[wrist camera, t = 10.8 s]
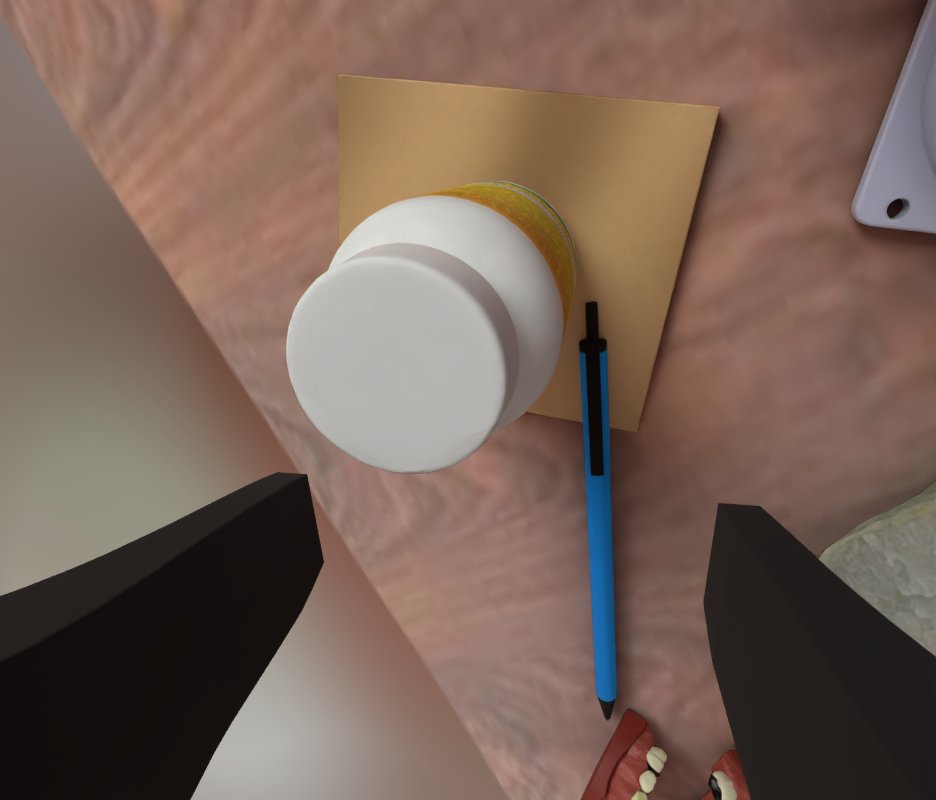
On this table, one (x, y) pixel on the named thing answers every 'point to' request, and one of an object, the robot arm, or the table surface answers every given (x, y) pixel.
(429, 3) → the table surface
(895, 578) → the stone
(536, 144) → the cork mat
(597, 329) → the pen
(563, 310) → the supplement bottle
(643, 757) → the false teeth
